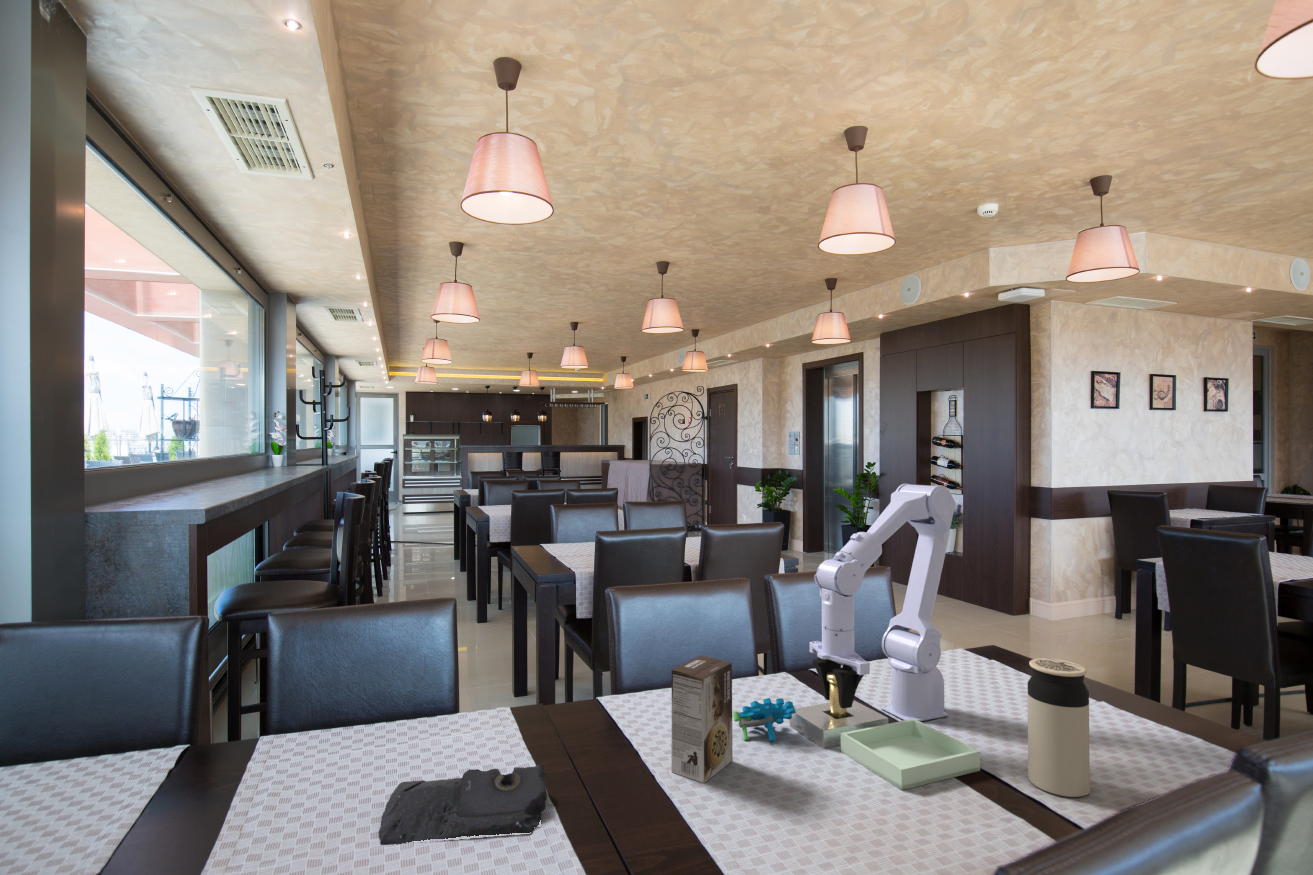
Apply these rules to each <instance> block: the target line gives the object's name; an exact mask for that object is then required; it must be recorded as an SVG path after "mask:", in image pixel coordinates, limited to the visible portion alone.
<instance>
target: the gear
mask: <svg viewBox="0 0 1313 875" xmlns="http://www.w3.org/2000/svg"><path fill="white" fill-rule="evenodd" d="M762 701H763V703H760V702H758V701H757V700H753V701H751V702H750V706H747V705H744V706H742V709H741V710H742V711H741V712H740V711H734V712H732V717H733V721H734V722H738V726H739V728H741V729H742V735H743V741H748V740H749V736H748V730H747V728H754V727H755V728H756V727H757V728H759V727H763V726H764V727H765V728H767V734H768V739H769V742H770V743H772V742H773V743H774V742H776V734H775V731H774V725H773V724H775V723H776V724H777V725H781V724H783V723H784V720H790V719H791V718H792V714H794V713H796V711H795V709H796V708H795V706H794V703H793V701H791V700H787V701H785V700H784V698H783V697H782V698H775V702H776V703H772V699H771V697H767V698H764V699H763V700H762Z"/></svg>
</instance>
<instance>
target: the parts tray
mask: <svg viewBox="0 0 1313 875" xmlns="http://www.w3.org/2000/svg"><path fill="white" fill-rule="evenodd" d="M840 752H841V753H843V754H844V755H846V756H847V757H849V758H850V759H852V760H854V761H855V762H857V763H858V764H859V765H861V766H863V767H864V768H866V769H867V770H869V771H871V772H872V773H874V774H875V775H877V776H879V777H880V778H881V779H884V780H885V781H886V782H888V783H890V784H891V785H892V786H894V787H896V788H897V789H898V790H901V791H904V790H908V789H912V788H915V787H919V786H924V785H928V784H932V783H935V782H939V781H940V782H941V781H944V780H949V779H952V778H956V777H959V776H960V777H961V776H963V775H967V774H972V773H977V772H980V771H981V751H980V750H978V749H976V748H975V747H972V746H970V745H968V744H966V743H964V742H962V741H960V740H958V739H956V738H954V737H952V736H950V735H948V734H946V733H944V732H942V731H939V730H938V729H936V728H934V727H932V726H930V725H927V724H926V723H924V722H923V721H918V720H916V719H910V720H901V721H896V722H890V723H888V724H885V725H880V726H875V727H870V728H865V729H859V730H854V731H849V732H844V733H841V745H840Z"/></svg>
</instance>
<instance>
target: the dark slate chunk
mask: <svg viewBox="0 0 1313 875" xmlns="http://www.w3.org/2000/svg"><path fill="white" fill-rule="evenodd" d="M545 775H546V772H545V768H544V766H543V765H540V764H537V765H535V766H528V767H523V766H522V767H519V766H516V767H513V770H512V772H511V773H507V774H502V773H501V771H500V769H499V768H491V769H488V770H480V769H476V768H475V769H474V768H473V769H468V770H466V771H465V772H464V773H463V774H462V777H456V778H451V779H450V778H449V779H436V780H427V781H425V780H410V781H402V782H400V783H399V784H398V785H397V786H396V787H395V789H394V790H393V792H391V794H390V797H389V799H388V801H387V802H386V804H385V809H384V811H383V812H382V815H381V821H380V827H379V828H378V829H379V830H378V839H379V840H380V841H379V843H380V844H381V845H385V846H386V845H387V846H388V845H394V844H396V845H403V844H402V843H404V844H410V843H409V842H412V841H421V840H423V841H424V840H427V839H428V840H430V839H445V838H446V839H448V838H456V837H461V836H467V837H468V836H469V837H470V836H474V835H475V836H479V835H496V834H497V835H499V834H510V833H511V834H512V833H530V832H532V833H533V830H534V829H533V828H534V827H537V826H538V825H539V822H540V820H541V821H542V813H543V812H544V810H545V809H546V807H547V806H546V804H547V800H548V799H547V798H548V792H547V787H546V781H545V780H546V779H545V778H546V777H545ZM541 812H542V813H541ZM540 815H541V816H540ZM406 842H408V843H406Z"/></svg>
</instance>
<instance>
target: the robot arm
mask: <svg viewBox="0 0 1313 875" xmlns="http://www.w3.org/2000/svg"><path fill="white" fill-rule="evenodd" d="M955 508H956V501H955V499H954V497H953V495H952V493H951V491H950V490H949V488H948V487H946V486H944V485H925V484H924V485H923V484H910V483H902V484H900V485H898V487H897V488H896V490H895V491H894V492H892V493H891V494H890V502H889V504H888V505H887V506H886V507H885V509H884V510H883V511H882V512H881V514H880V515H879V516H878V518H877V519H876V520H875V521H874V522H873V524H872V525H871V526H870V527H869V529H868V530H867V531H866V532H865V531H858V532H856V533H853V534H852V535H851V536H850V537H849V538H850V539H849V540H848V542H847V543H846V544H845V545H844V546H843V547H842V548H841V549H840V550H839V551H836V553H835V554H834V557H833V558H829V559H825V560H824V561H822V563H821V562H820V564H819V566H818V567H817V569H816V573H815V574H814V576H813V577H814V578H813V579H814V582H815V585H816V586H817V587H818V590H819V597H820V599H821V641H819V640H813V641H810V642H809V653H810V654H816V655H817V658H813V659H812V665H813V667H814V669H815V671H816V672H817V675H818V677H819V681H820V684H821V688H822V691H823V696H824V699H825V700H826V701H830V682H829V681H827V673H828V672H830V671H833V673H834V675H835V678H836V681H837V686H838V694H839V704H840V707H841V708H842V709H845V708H850V707H852V704H853V700H854V701H855V699H854V698H855V695H856V692H857V690H858V687H859V684H860V682H861V680H862V679H863V677H864V676H865V675H869V674H871V672H870V670H871V668H870V667H871V666H870V662H869V661H867V660H865V659H864V658H862V657H861V656H860V655H859V654H858V653H857V652H856V651H855V594H856V592H858V591H860V589H861V587H862V583H863V578H864V577H865V575H866V572H867V571H868V569H870V568H871V566H872V565H873V564H874V563H875V562H876V561H877V560H878V558H880V556H881V555H882V553H883V546H882V544H884V543H885V542H886V541H887V540H888V539H889V538H891V536H892V535H894V534H895V533H896V532H897V531H898V530H899V529H900V528H901V527H902V526H904V525H905V524H906V523H908V524H910V525H911V526H912V527H914V529H915V531H916V533H917V534H918V538H917V543H916V547H915V551H914V556H913V561H912V565H911V570H910V575H909V579H908V582H907V583H908V584H907V588H906V593H905V597H904V601H903V607H902V609H901V610H902V611H901V612H899V614H897V615H895V616H893V617H891V618H890V620H889V624H888V628H887V630H885V632H884V634H883V636H882V639H881V648H882V652H883V654H884V656H886V657H887V663H888V664H890V673H891V674H890V688H891V689H890V699H891V700H890V704H886V705H885V704H884V705H881V707H880V708H881V710H883V711H885V712H887V713H889V714H890V715H893V716H895V717H897V718H899V719H901V720H902V721H905V720H910V719H916V720H918V721H920V722H925V721H929V720H933V719H940V718H945V717H948V716H949V714H948V712H946V711H945V680H944V677H943V674H942V672H941V670H940V668H938V667H937V666H938V665H939V662H940V660H941V657H942V656H941V655H942V652H941V651H942V650H941V637H942V634H941V633H942V632H940V630H939V629H938V628H937V626H936V625H935V624H934V622H933V621H932V618H933V614H934V610H935V604H936V600H937V596H938V590H939V586H940V581H941V575H942V571H943V567H944V563H945V562H944V561H945V557H946V553H947V548H948V543H949V539H950V534H951V526H952V522H953V517H954V512H955ZM911 630H913V631H916V632H918V633H916V632H913V631H911Z"/></svg>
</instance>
